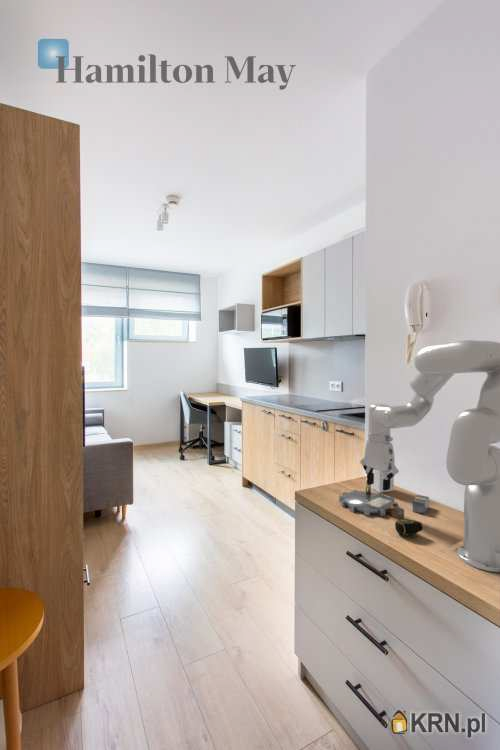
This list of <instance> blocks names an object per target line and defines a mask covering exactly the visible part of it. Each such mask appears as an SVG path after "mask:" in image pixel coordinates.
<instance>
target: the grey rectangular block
mask: <svg viewBox="0 0 500 750" xmlns="http://www.w3.org/2000/svg"><path fill="white" fill-rule="evenodd" d="M429 508H430V496H426V495H421V494H417V495H416V496H415V497H414V499H413V501H412V512H413V513H417V514H422V515H425V514H427V512H428V509H429Z"/></svg>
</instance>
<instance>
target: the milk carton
mask: <svg viewBox="0 0 500 750" xmlns="http://www.w3.org/2000/svg"><path fill="white" fill-rule="evenodd" d="M390 472H392V470H390ZM372 473H374V484H371V490H374V491H376V493H386V492H387V493H388V492H394V490H395V485H394V483H395V476H393V477H392V478H391V479H390V489H389V490H385V491H384V490H383V479H385V478H384V475H383V471H380V470H377V469H374V470H373V472H372ZM387 475H388V474H387Z"/></svg>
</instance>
